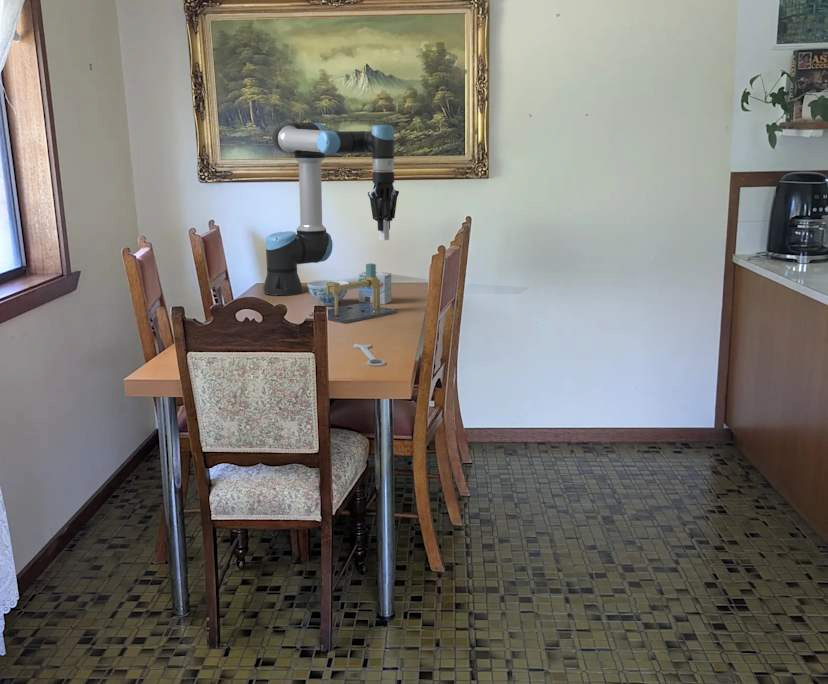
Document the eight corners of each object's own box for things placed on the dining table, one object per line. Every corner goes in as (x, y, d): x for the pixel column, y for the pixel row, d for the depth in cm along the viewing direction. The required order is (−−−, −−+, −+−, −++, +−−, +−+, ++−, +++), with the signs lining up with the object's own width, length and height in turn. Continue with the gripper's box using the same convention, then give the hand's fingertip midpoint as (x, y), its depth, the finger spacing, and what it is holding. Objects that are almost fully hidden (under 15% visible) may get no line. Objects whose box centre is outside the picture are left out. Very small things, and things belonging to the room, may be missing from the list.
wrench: (369, 347, 253) (351, 348, 252) (369, 342, 253) (351, 342, 252) (387, 367, 230) (368, 368, 228) (387, 361, 229) (368, 362, 228)
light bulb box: (358, 302, 316) (358, 273, 314) (365, 299, 322) (365, 271, 320) (385, 304, 313) (385, 275, 310) (392, 301, 319) (392, 272, 316)
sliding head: (365, 306, 302) (364, 263, 298) (369, 305, 303) (369, 263, 300) (372, 308, 299) (372, 265, 295) (377, 307, 301) (377, 264, 297)
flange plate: (309, 315, 293) (309, 312, 293) (361, 305, 310) (361, 302, 310) (344, 323, 281) (344, 320, 281) (396, 312, 298) (396, 309, 298)
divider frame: (327, 314, 289) (326, 282, 287) (374, 305, 305) (374, 274, 302) (334, 316, 287) (334, 283, 284) (382, 307, 302) (382, 276, 300)
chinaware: (319, 299, 323) (319, 279, 321) (356, 301, 317) (355, 281, 315) (300, 306, 309) (300, 285, 307) (338, 309, 304) (337, 287, 302)
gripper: (376, 172, 287) (377, 242, 293) (405, 170, 297) (405, 238, 303) (361, 171, 292) (362, 240, 298) (390, 170, 302) (390, 237, 308)
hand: (384, 239), depth 300 cm, fingers closed
